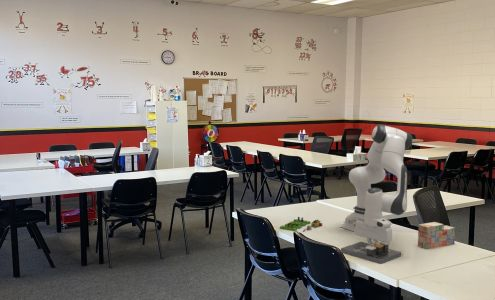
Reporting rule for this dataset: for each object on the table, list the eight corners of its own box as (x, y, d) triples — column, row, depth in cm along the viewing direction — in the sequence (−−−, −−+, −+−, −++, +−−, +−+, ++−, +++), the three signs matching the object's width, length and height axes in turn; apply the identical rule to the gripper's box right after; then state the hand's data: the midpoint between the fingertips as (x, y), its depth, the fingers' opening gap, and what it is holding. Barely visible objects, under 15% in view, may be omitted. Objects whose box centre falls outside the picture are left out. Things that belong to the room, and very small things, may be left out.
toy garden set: (296, 221, 314) (296, 215, 313) (323, 226, 303) (323, 218, 303) (279, 229, 294) (279, 222, 294) (308, 234, 284) (308, 226, 284)
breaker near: (365, 253, 239) (365, 247, 239) (369, 252, 241) (369, 245, 241) (371, 255, 236) (371, 248, 236) (375, 254, 239) (376, 247, 238)
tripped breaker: (372, 251, 243) (373, 244, 242) (376, 250, 245) (377, 243, 245) (379, 253, 240) (379, 246, 240) (383, 251, 243) (383, 245, 242)
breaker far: (379, 249, 247) (379, 242, 247) (382, 247, 249) (383, 241, 249) (385, 250, 244) (385, 244, 244) (389, 249, 247) (389, 242, 246)
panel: (340, 252, 249) (340, 248, 249) (361, 245, 261) (361, 241, 261) (381, 263, 231) (381, 259, 231) (401, 256, 243) (401, 251, 243)
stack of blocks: (445, 241, 270) (446, 219, 269) (454, 244, 265) (455, 222, 263) (417, 246, 260) (418, 224, 259) (426, 249, 255) (427, 226, 254)
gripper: (352, 217, 249) (351, 243, 250) (387, 225, 234) (386, 253, 235) (359, 215, 253) (358, 241, 255) (394, 223, 238) (393, 250, 239)
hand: (372, 247), depth 245 cm, fingers closed
